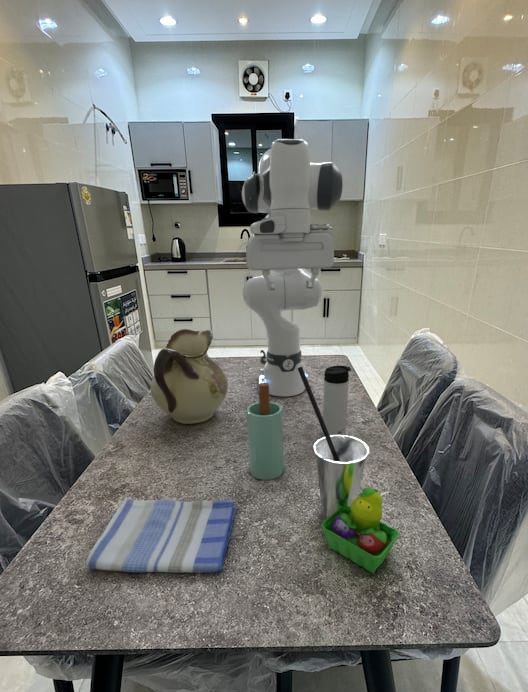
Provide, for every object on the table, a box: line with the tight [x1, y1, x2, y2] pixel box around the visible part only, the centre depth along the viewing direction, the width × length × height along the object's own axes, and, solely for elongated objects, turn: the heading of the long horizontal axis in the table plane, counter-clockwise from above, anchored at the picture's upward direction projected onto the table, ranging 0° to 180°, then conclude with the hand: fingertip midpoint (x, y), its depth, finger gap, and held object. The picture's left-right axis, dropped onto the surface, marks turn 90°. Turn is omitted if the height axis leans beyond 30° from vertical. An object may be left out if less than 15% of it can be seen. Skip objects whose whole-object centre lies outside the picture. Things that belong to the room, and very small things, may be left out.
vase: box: [246, 401, 284, 481], centre depth 87 cm, size 8×8×16 cm
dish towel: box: [85, 498, 238, 574], centre depth 70 cm, size 17×24×3 cm
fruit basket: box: [320, 486, 400, 574], centre depth 65 cm, size 11×9×11 cm
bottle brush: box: [258, 383, 271, 415], centre depth 86 cm, size 4×4×21 cm
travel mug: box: [321, 365, 352, 438], centre depth 101 cm, size 6×7×20 cm
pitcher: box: [150, 328, 229, 425], centre depth 113 cm, size 22×24×25 cm
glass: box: [297, 367, 370, 521], centre depth 70 cm, size 11×11×30 cm
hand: (290, 289), depth 90 cm, fingers open, 8 cm apart
